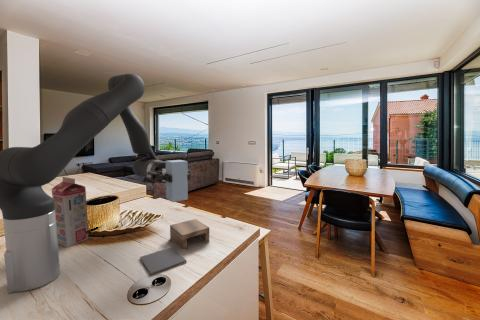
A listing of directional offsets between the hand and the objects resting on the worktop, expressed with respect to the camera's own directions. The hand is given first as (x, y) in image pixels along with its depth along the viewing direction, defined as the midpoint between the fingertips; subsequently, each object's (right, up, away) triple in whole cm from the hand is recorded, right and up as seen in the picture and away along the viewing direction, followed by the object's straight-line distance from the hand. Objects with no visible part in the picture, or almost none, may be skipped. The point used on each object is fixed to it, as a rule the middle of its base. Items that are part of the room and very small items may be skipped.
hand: (180, 178), depth 67 cm
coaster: (-4, -24, -2) cm, 25 cm away
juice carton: (-40, -22, +9) cm, 46 cm away
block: (-2, -7, +3) cm, 7 cm away
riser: (0, -23, +11) cm, 25 cm away
